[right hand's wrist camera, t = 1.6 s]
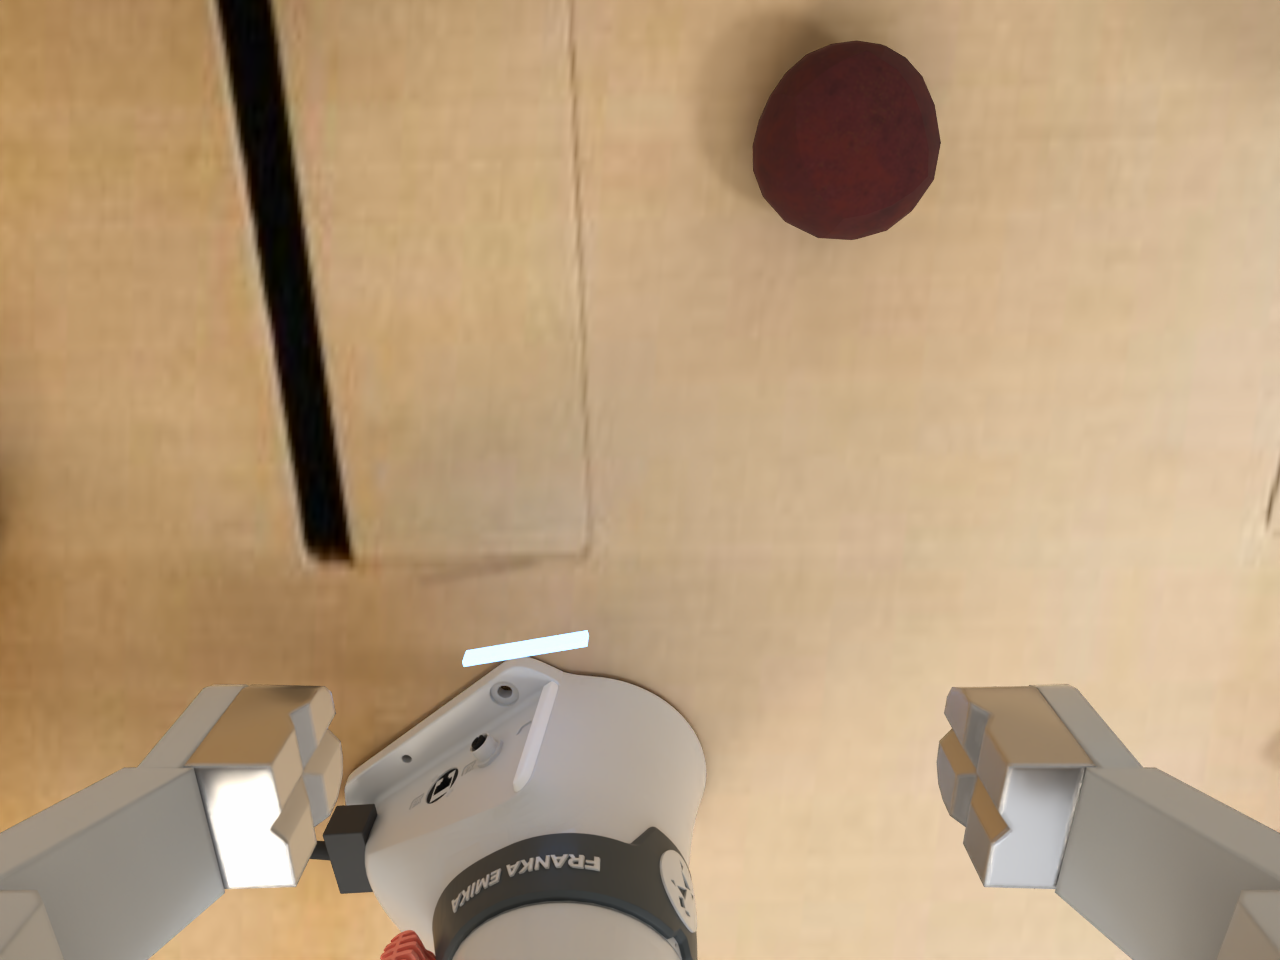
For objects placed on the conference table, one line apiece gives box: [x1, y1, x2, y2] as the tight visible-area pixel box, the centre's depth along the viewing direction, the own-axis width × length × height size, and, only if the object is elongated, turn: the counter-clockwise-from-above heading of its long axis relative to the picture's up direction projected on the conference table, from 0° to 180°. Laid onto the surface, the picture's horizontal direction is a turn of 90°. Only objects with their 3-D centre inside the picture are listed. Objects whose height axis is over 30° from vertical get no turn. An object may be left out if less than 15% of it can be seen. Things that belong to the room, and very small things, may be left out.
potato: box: [753, 41, 941, 240], centre depth 33 cm, size 7×8×7 cm
